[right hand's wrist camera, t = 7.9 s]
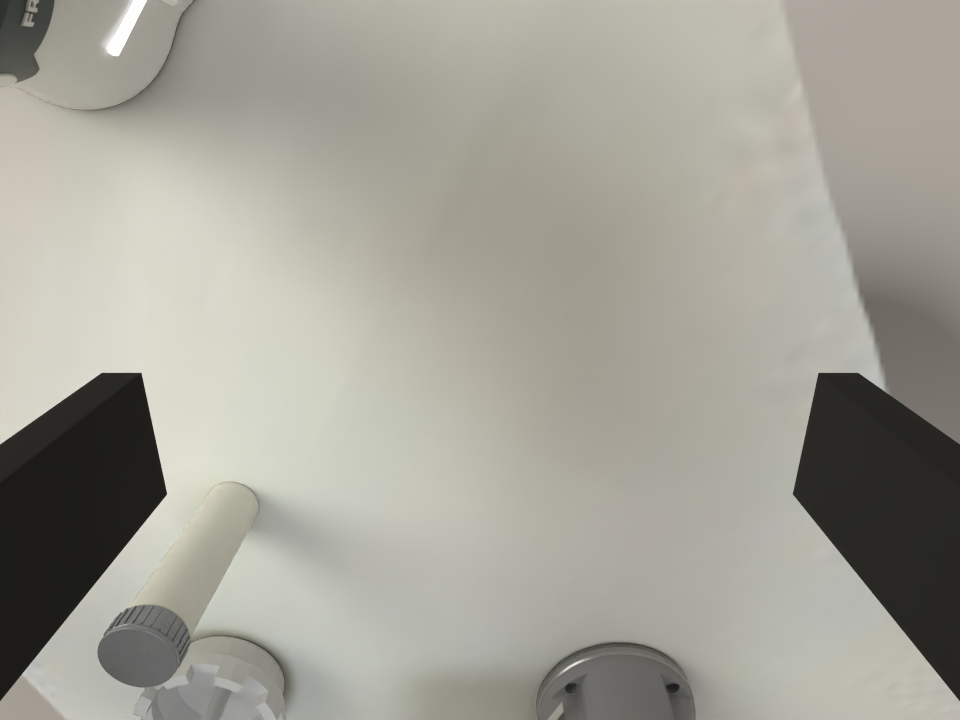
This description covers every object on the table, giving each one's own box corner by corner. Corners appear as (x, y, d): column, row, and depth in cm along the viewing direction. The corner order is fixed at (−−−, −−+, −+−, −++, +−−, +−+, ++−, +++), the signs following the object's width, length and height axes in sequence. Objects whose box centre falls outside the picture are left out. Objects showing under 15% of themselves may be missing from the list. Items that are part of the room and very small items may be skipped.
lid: (136, 590, 40) (119, 614, 39) (206, 629, 42) (192, 654, 40) (100, 637, 42) (81, 663, 40) (168, 674, 43) (153, 700, 41)
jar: (224, 472, 54) (125, 614, 39) (268, 500, 55) (189, 649, 40) (198, 507, 56) (92, 657, 40) (242, 533, 57) (155, 689, 41)
